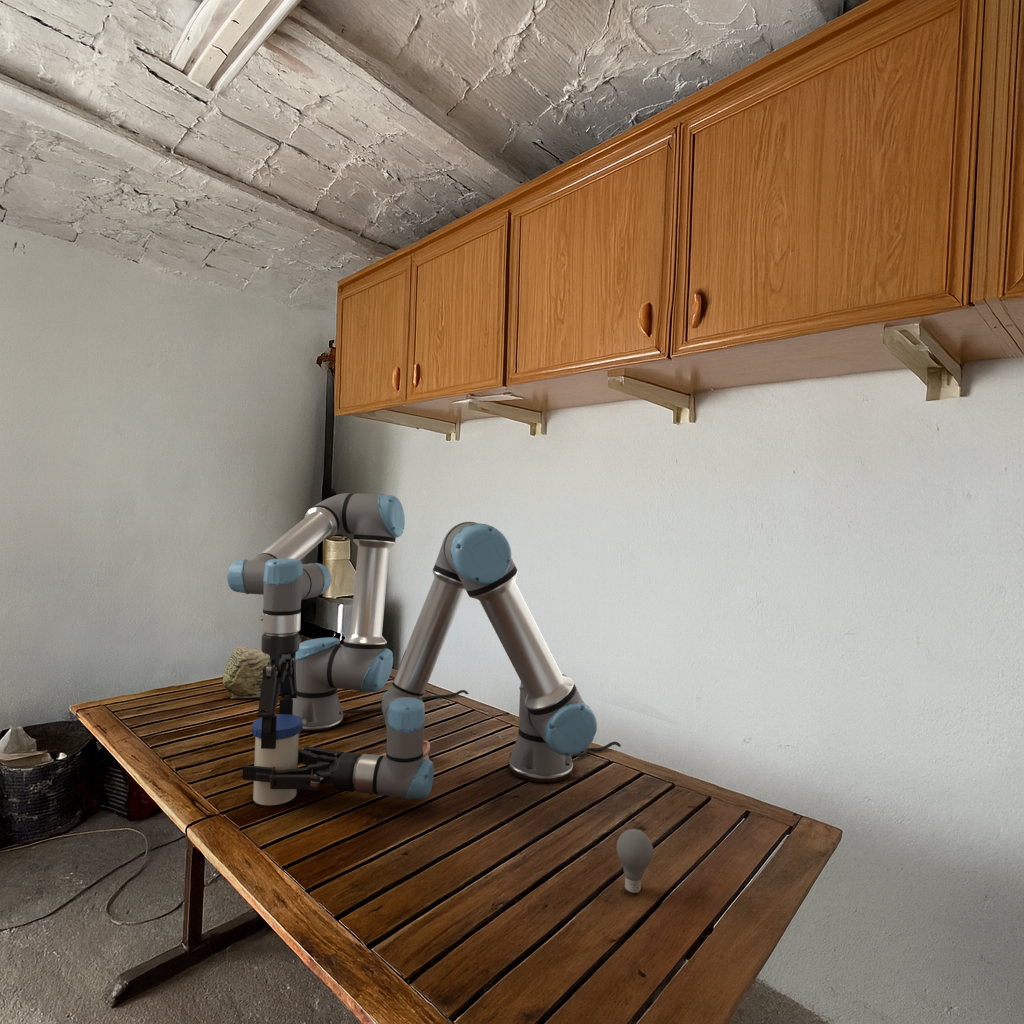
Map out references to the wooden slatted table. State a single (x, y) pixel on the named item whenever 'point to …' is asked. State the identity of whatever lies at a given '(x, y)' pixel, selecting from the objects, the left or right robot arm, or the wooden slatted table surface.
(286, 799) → the jar
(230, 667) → the fossil
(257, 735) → the lid
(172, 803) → the wooden slatted table surface
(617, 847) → the light bulb
